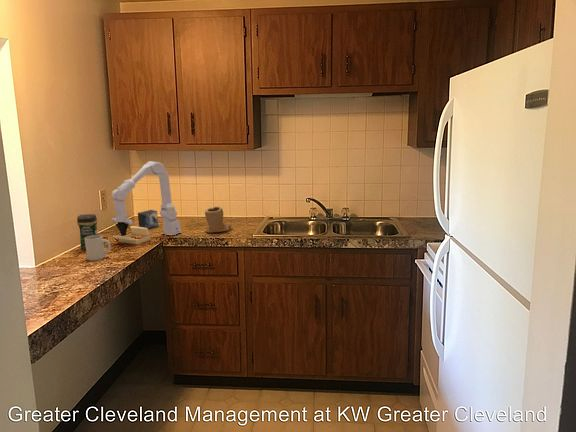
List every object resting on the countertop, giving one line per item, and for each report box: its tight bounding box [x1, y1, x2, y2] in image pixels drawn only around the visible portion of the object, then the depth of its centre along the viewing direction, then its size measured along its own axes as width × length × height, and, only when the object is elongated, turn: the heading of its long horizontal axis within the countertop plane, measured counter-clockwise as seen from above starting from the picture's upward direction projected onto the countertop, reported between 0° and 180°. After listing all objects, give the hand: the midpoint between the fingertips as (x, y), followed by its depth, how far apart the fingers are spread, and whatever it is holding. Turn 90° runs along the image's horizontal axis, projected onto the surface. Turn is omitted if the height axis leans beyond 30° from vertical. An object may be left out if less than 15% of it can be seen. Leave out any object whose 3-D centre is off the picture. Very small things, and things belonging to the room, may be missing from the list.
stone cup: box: [204, 206, 232, 234], centre depth 268 cm, size 15×12×15 cm
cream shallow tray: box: [118, 232, 151, 245], centre depth 257 cm, size 14×10×2 cm
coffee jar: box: [76, 213, 99, 250], centre depth 246 cm, size 10×8×19 cm
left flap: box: [112, 235, 135, 240], centre depth 251 cm, size 13×4×1 cm, turn 60°
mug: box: [85, 234, 112, 262], centre depth 229 cm, size 12×8×11 cm
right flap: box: [129, 225, 151, 236], centre depth 260 cm, size 13×4×1 cm
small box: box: [137, 209, 159, 230], centre depth 285 cm, size 11×6×10 cm, turn 143°
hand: (123, 235), depth 251 cm, fingers closed
